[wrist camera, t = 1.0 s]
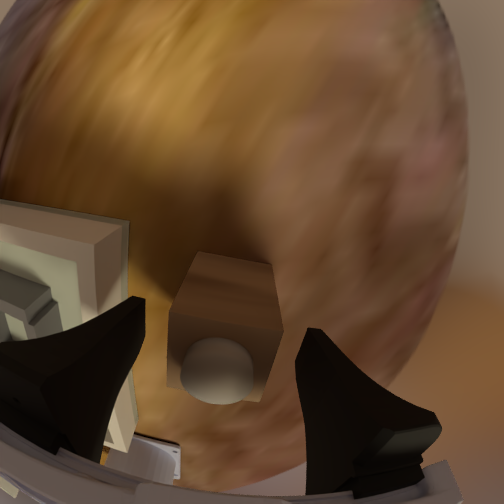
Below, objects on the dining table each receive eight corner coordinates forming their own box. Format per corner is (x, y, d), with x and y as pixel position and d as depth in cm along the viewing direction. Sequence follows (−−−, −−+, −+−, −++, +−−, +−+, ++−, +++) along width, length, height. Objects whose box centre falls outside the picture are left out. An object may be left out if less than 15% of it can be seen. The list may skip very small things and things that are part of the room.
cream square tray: (138, 418, 20) (127, 453, 16) (-2, 358, 19) (-19, 379, 15) (129, 220, 14) (93, 245, 10) (-37, 193, 13) (-69, 204, 9)
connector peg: (256, 325, 16) (260, 419, 10) (190, 313, 16) (161, 403, 10) (271, 264, 15) (286, 349, 9) (197, 251, 15) (161, 327, 8)
